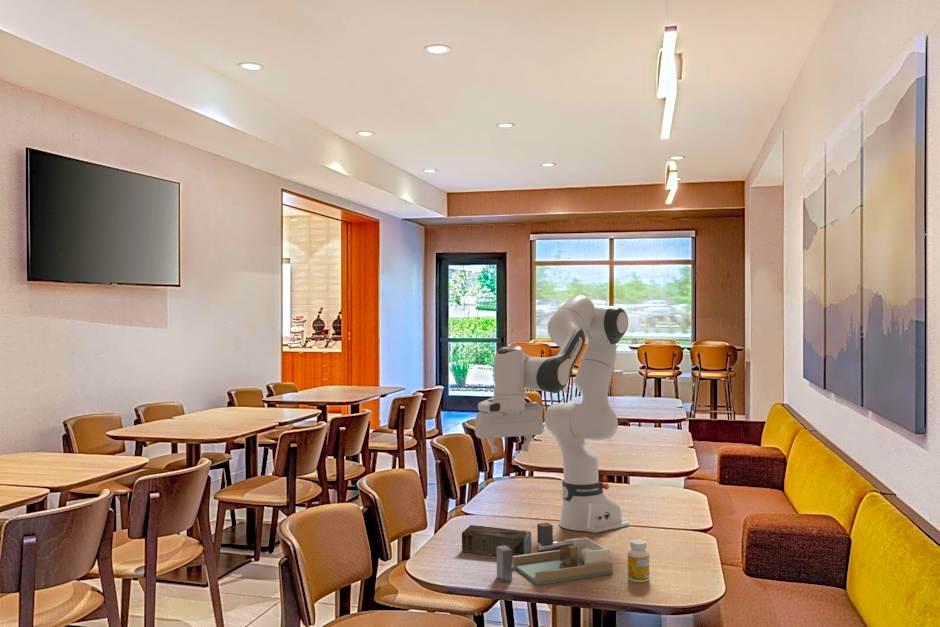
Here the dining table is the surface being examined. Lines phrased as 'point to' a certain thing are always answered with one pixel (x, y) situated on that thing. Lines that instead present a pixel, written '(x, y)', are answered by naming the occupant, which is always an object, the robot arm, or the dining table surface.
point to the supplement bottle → (638, 561)
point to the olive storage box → (495, 540)
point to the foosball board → (552, 570)
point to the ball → (583, 553)
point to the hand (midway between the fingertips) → (509, 452)
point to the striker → (556, 544)
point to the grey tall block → (504, 563)
